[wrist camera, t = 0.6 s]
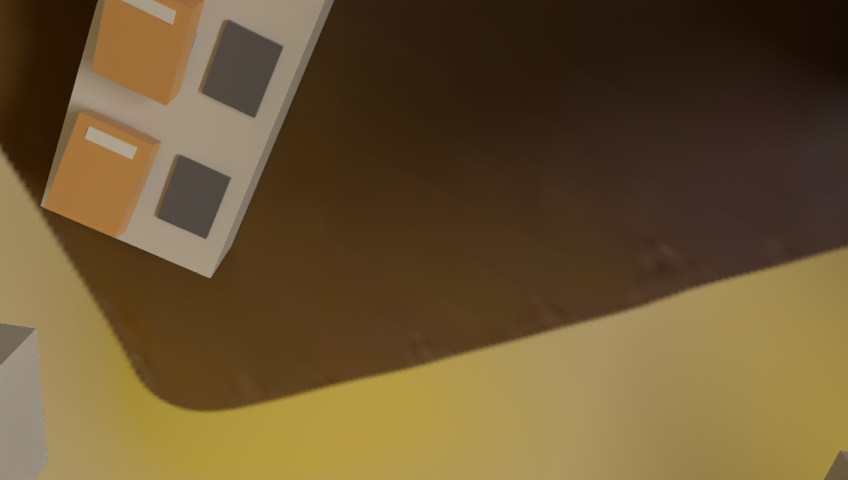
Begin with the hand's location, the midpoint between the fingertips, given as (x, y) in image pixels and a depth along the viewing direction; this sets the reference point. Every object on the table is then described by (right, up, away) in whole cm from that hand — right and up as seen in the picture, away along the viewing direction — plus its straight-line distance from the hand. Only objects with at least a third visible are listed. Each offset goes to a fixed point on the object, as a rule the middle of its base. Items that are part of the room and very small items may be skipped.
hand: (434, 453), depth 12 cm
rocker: (-15, +7, +21) cm, 27 cm away
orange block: (-12, +12, +18) cm, 25 cm away
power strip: (-9, +17, +22) cm, 29 cm away
